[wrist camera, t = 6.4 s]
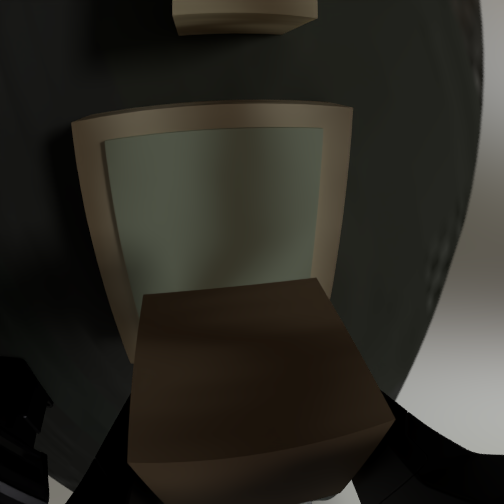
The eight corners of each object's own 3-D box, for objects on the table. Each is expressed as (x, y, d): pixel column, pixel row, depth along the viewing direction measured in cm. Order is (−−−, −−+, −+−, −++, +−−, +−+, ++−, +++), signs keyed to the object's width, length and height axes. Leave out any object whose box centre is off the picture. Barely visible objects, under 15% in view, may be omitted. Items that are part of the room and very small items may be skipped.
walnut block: (172, 396, 11) (179, 518, 7) (142, 294, 9) (127, 462, 4) (300, 381, 12) (340, 493, 8) (316, 277, 9) (395, 419, 5)
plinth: (135, 330, 20) (130, 367, 18) (91, 114, 13) (68, 123, 11) (307, 313, 22) (322, 346, 19) (327, 102, 15) (356, 108, 12)
